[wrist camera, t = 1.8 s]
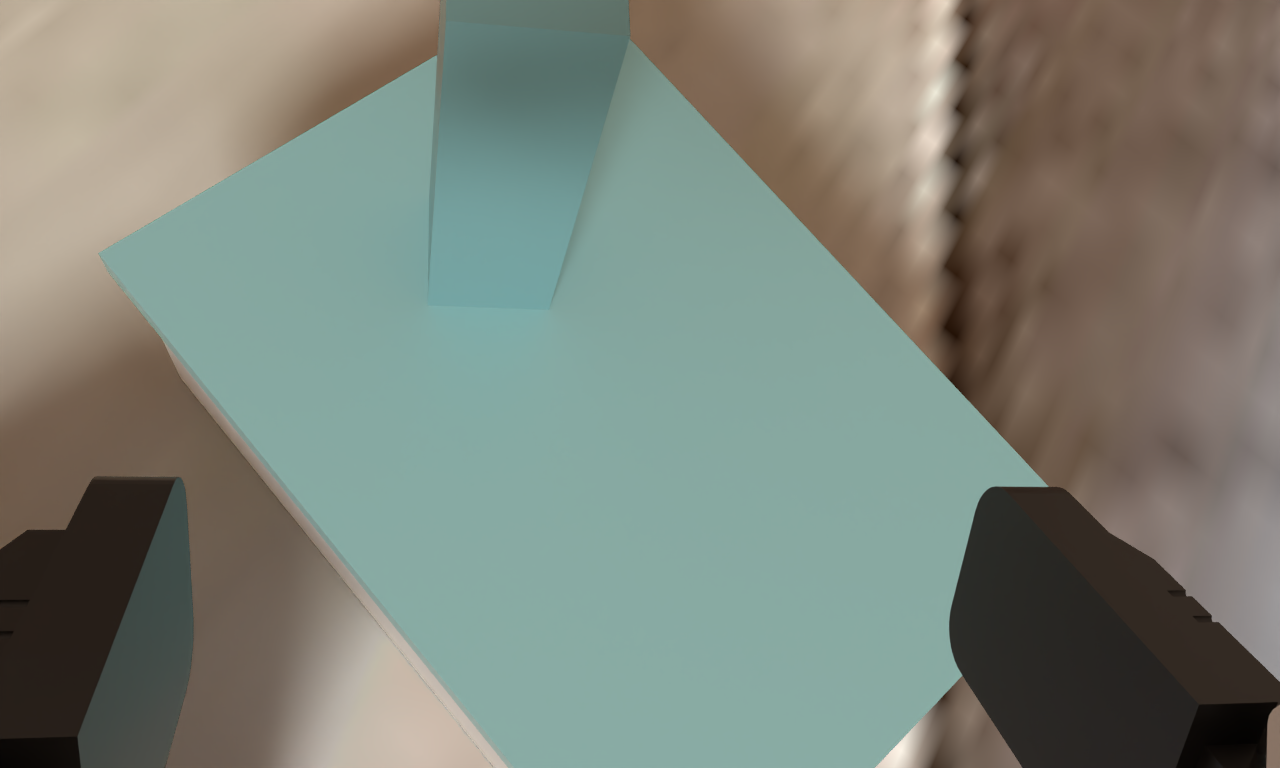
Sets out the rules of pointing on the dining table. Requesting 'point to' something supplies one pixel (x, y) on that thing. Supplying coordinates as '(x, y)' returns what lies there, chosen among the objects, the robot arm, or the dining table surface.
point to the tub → (338, 565)
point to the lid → (585, 406)
